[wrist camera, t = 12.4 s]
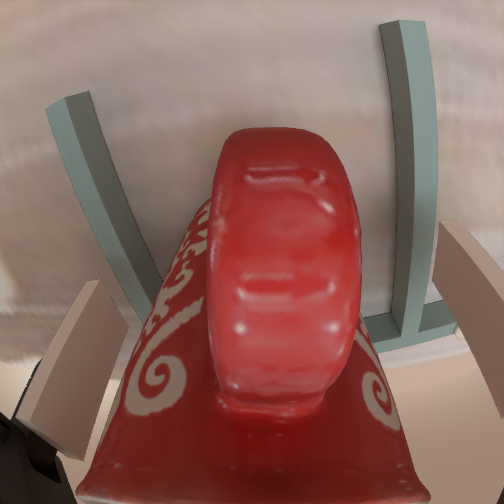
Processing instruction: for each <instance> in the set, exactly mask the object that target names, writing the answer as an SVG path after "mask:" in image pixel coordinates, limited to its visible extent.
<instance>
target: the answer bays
mask: <svg viewBox="0 0 504 504" xmlns="http://www.w3.org/2000/svg"><path fill="white" fill-rule="evenodd" d="M379 27H380V32H381V37H382V42H383V47H384V53H385V59H386V65H387V72H388V79H389V86H390V94H391V103H392V112H393V123H394V135H395V151H396V173H397V237H396V260H395V275H394V288H393V299H392V309H391V313H387V314H382V315H377V316H372V317H367V318H363V320H364V323H365V325H366V328H367V331H368V333H369V336H370V339H371V341H372V344H373V346H374V348H375V350H376V352H377V353H382V352H386V351H391V350H395V349H399V348H403V347H407V346H411V345H415V344H419V343H423V342H427V341H430V340H434V339H438V338H441V337H445V336H448V335H451V334H455V335H456V337H457V339H459V340H463V339H465V338H464V336H463V334H462V332H461V330H460V328H459V326H458V324H457V322H456V321H455V319H454V317H453V315H452V313H451V312H450V310H449V308H448V306H447V305H446V303H445V301H444V300H442V301H438V302H434V303H430V304H426V305H424V301H425V295H426V290H427V283H428V277H429V270H430V263H431V256H432V247H433V238H434V228H435V216H436V201H437V178H438V136H437V113H436V99H435V87H434V78H433V69H432V61H431V54H430V48H429V41H428V36H427V30H426V25H425V22H424V21H409V20H397V21H393V22H388V23H385V24H381V25H379ZM45 111H46V114H47V117H48V120H49V123H50V126H51V129H52V132H53V135H54V138H55V141H56V143H57V146H58V149H59V152H60V154H61V157H62V160H63V162H64V165H65V167H66V170H67V173H68V175H69V178H70V180H71V182H72V185H73V187H74V190H75V192H76V194H77V197H78V199H79V201H80V204H81V206H82V208H83V211H84V213H85V215H86V217H87V219H88V222H89V224H90V226H91V228H92V230H93V232H94V234H95V236H96V238H97V241H98V243H99V245H100V247H101V249H102V251H103V253H104V255H105V257H106V259H107V261H108V262H109V264H110V266H111V268H112V270H113V272H114V274H115V276H116V278H117V280H118V281H119V283H120V285H121V287H122V289H123V291H124V292H125V294H126V296H127V298H128V299H129V301H130V303H131V305H132V306H133V308H134V310H135V312H136V313H137V315H138V317H139V318H140V320H141V322H142V323H143V325H144V324H145V322H146V320H147V318H148V315H149V313H150V311H151V308H152V306H153V304H154V302H155V299H156V297H157V295H158V292H159V290H160V288H161V286H162V283H163V282H162V280H161V278H160V276H159V274H158V272H157V270H156V267H155V265H154V263H153V261H152V259H151V256H150V254H149V252H148V250H147V247H146V245H145V243H144V241H143V238H142V236H141V234H140V231H139V229H138V227H137V224H136V222H135V219H134V217H133V215H132V212H131V210H130V207H129V205H128V202H127V200H126V197H125V195H124V192H123V190H122V187H121V185H120V182H119V179H118V177H117V174H116V171H115V169H114V166H113V163H112V161H111V158H110V155H109V152H108V149H107V147H106V144H105V141H104V138H103V135H102V132H101V129H100V126H99V123H98V120H97V117H96V114H95V111H94V107H93V104H92V101H91V98H90V94H89V91H87V92H83V93H80V94H76V95H72V96H69V97H65V98H63V99H61V100H59V101H58V102H56V103H54V104H52V105H50V106H49V107H47V108H45Z"/></svg>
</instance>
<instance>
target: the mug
mask: <svg viewBox="0 0 504 504" xmlns="http://www.w3.org/2000/svg"><path fill="white" fill-rule="evenodd" d="M361 263H362V256H361V228H360V222H359V216H358V211H357V206H356V203H355V200H354V196H353V193H352V190H351V186H350V183H349V180H348V177H347V175H346V172H345V169H344V166H343V165H342V163H341V161H340V159H339V157H338V155H337V154H336V152H335V151H334V150H333V148H332V147H331V146H330V144H329V143H328V142H327V141H325V140H324V139H323V138H322V137H321V136H319V135H317V134H315V133H312V132H309V131H306V130H303V129H296V128H287V127H268V128H249V129H242V130H239V131H236V132H234V133H232V134H231V135H230V136H229V137H228V139H227V140H226V141H225V143H224V146H223V149H222V151H221V154H220V157H219V160H218V165H217V169H216V173H215V176H214V180H213V190H212V197H211V198H210V199H209V200H208V201H207V202H206V203H204V204H203V206H202V207H201V208H200V209H199V210H198V212H197V213H196V215H195V216H194V218H193V220H192V222H191V224H190V226H189V228H188V230H187V232H186V234H185V236H184V238H183V240H182V243H181V245H180V247H179V249H178V251H177V253H176V255H175V257H174V259H173V261H172V263H171V266H170V268H169V270H168V272H167V274H166V277H165V279H164V281H163V283H162V286H161V288H160V290H159V292H158V295H157V297H156V299H155V302H154V304H153V306H152V308H151V311H150V313H149V315H148V318H147V320H146V322H145V324H144V327H143V329H142V332H141V334H140V337H139V339H138V342H137V344H136V346H135V348H134V350H133V352H132V355H131V358H130V360H129V363H128V365H127V368H126V370H125V373H124V375H123V378H122V380H121V383H120V385H119V388H118V391H117V393H116V396H115V398H114V401H113V404H112V407H111V410H110V413H109V415H108V419H107V422H106V424H105V427H104V430H103V433H102V436H101V438H100V441H99V444H98V447H97V450H96V453H95V456H94V458H93V461H92V464H91V467H90V469H89V471H88V473H87V475H86V476H85V478H84V479H83V480H82V482H81V483H80V484H79V485H78V487H77V488H76V491H75V493H76V496H77V498H78V499H80V500H81V501H83V502H85V503H87V504H427V503H428V502H429V501H430V499H431V495H430V493H429V491H428V490H427V489H426V488H425V486H424V485H423V484H422V483H421V481H420V480H419V478H418V476H417V474H416V472H415V469H414V466H413V463H412V459H411V455H410V452H409V448H408V445H407V441H406V438H405V435H404V431H403V428H402V425H401V422H400V419H399V415H398V412H397V408H396V405H395V402H394V399H393V396H392V393H391V390H390V387H389V385H388V382H387V379H386V377H385V374H384V371H383V369H382V366H381V364H380V361H379V357H378V354H377V352H376V350H375V348H374V346H373V344H372V341H371V339H370V336H369V333H368V331H367V328H366V325H365V323H364V320H363V318H362V315H361V313H360V299H361V284H362V275H361Z"/></svg>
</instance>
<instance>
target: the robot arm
mask: <svg viewBox="0 0 504 504" xmlns="http://www.w3.org/2000/svg"><path fill="white" fill-rule="evenodd" d="M432 281H433V283H434V284H435V286H436V288H437V289H438V291H439V293H440V294H441V296H442V298H443V299H444V301H445V303H446V305H447V306H448V308H449V310H450V312H451V313H452V315H453V317H454V319H455V321H456V322H457V324H458V326H459V328H460V330H461V332H462V334H463V336H464V338H465V339H466V341H467V343H468V345H469V347H470V349H471V351H472V353H473V355H474V357H475V359H476V362H477V364H478V366H479V368H480V370H481V372H482V374H483V376H484V379H485V381H486V383H487V385H488V387H489V390H490V392H491V395H492V397H493V399H494V402H495V404H496V407H497V409H498V412H499V414H500V417H501V419H502V418H504V271H503V270H502V269H501V268H500V267H499V265H498V264H497V263H496V262H495V261H494V259H493V258H492V257H491V256H490V255H489V254H488V252H487V251H486V250H485V249H484V248H483V247H482V246H481V244H480V243H479V242H478V241H477V240H476V239H475V238H474V237H473V236H472V234H471V233H470V232H469V231H468V230H467V229H466V228H465V227H464V226H463V225H462V224H461V223H460V222H459V221H458V220H457V219H456V218H455V219H449V220H443V221H440V222H439V232H438V241H437V249H436V257H435V264H434V271H433V277H432ZM128 328H129V326H128V325H127V323H126V321H125V320H124V318H123V317H122V315H121V313H120V312H119V310H118V309H117V307H116V305H115V304H114V302H113V300H112V298H111V297H110V295H109V293H108V292H107V290H106V288H105V286H104V285H103V283H102V281H101V279H98V280H92V281H86V283H85V285H84V286H83V288H82V289H81V291H80V293H79V294H78V296H77V298H76V299H75V301H74V303H73V304H72V306H71V308H70V309H69V311H68V313H67V315H66V316H65V318H64V320H63V322H62V323H61V325H60V327H59V329H58V331H57V332H56V334H55V336H54V338H53V340H52V342H51V343H50V345H49V347H48V349H47V351H46V353H45V355H44V356H43V358H42V359H41V360H40V361H39V362H38V364H37V365H36V366H35V368H34V370H33V373H32V375H31V378H30V379H29V381H28V383H27V387H25V389H24V391H23V394H22V396H21V398H20V400H19V403H18V405H17V407H16V409H15V412H14V414H13V416H12V418H11V420H9V419H8V418H7V417H6V416H4V415H3V414H2V413H1V412H0V504H77V502H76V499H75V497H74V494H73V492H72V490H71V487H70V484H69V482H68V479H67V476H66V473H65V471H64V468H63V465H62V462H61V460H60V458H59V457H58V456H56V453H57V450H58V451H59V452H61V453H62V454H64V455H65V456H67V457H69V458H72V459H76V460H80V461H84V457H85V454H86V450H87V447H88V443H89V440H90V437H91V433H92V430H93V427H94V424H95V421H96V417H97V414H98V411H99V408H100V405H101V402H102V399H103V396H104V393H105V390H106V387H107V384H108V382H109V379H110V376H111V373H112V370H113V367H114V365H115V362H116V359H117V357H118V354H119V351H120V349H121V346H122V343H123V341H124V338H125V335H126V333H127V330H128ZM497 504H504V488H503V490H502V493H501V495H500V497H499V500H498V502H497Z"/></svg>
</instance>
